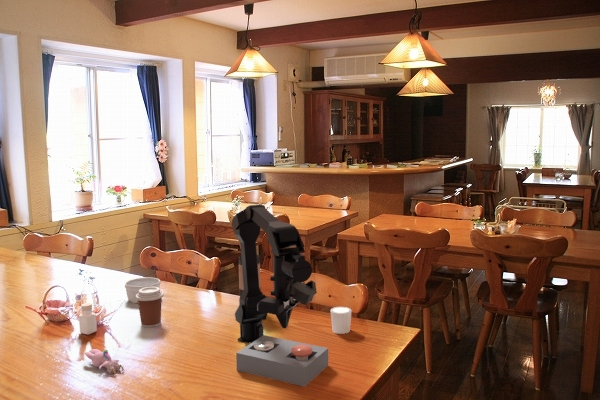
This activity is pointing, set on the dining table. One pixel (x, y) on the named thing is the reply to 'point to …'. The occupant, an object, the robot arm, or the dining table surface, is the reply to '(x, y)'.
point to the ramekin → (139, 286)
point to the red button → (301, 352)
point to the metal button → (264, 346)
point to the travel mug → (241, 285)
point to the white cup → (341, 319)
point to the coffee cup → (150, 306)
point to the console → (282, 361)
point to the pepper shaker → (87, 319)
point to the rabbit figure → (103, 360)
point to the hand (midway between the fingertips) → (284, 327)
